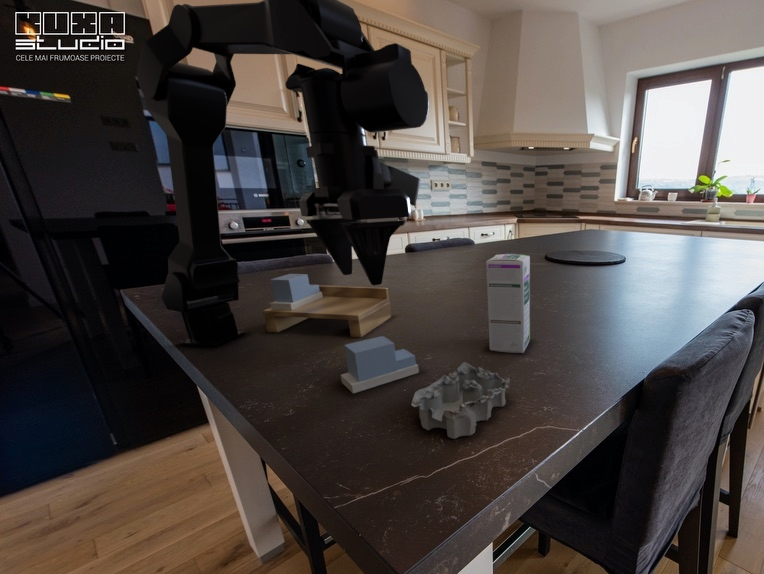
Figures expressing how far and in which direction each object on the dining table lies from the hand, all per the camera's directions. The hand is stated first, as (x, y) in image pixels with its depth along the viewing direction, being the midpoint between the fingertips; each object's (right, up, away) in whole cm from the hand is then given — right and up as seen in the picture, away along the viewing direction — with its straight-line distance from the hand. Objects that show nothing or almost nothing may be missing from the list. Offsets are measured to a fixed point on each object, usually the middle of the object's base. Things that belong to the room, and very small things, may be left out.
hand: (361, 279), depth 48 cm
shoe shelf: (-16, -4, +27) cm, 31 cm away
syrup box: (+18, -9, +16) cm, 26 cm away
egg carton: (+13, -16, -3) cm, 21 cm away
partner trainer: (-22, 0, +26) cm, 34 cm away
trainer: (0, -13, +5) cm, 14 cm away
